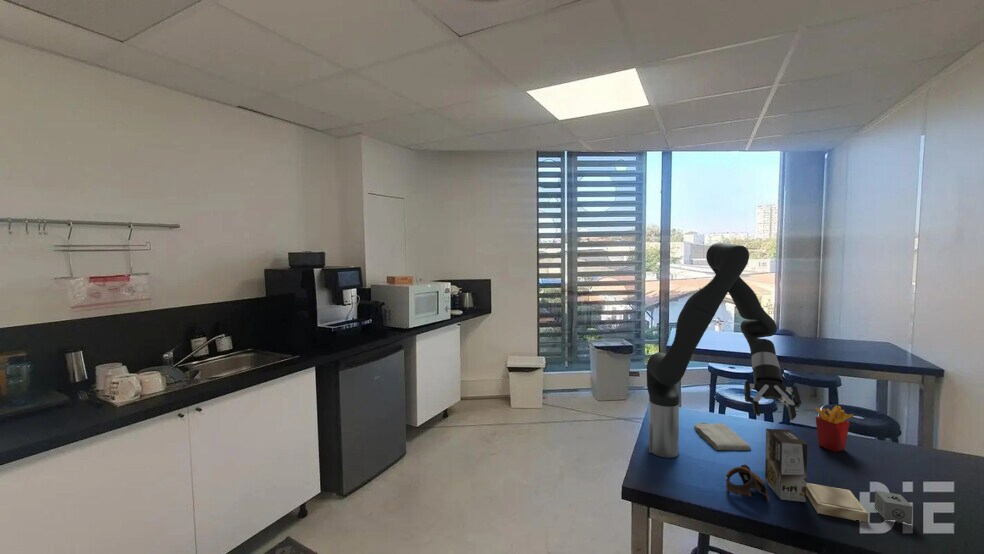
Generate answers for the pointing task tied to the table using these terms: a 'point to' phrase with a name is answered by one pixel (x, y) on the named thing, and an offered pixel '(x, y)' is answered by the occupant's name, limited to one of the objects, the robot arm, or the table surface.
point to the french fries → (832, 428)
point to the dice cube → (893, 507)
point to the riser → (835, 502)
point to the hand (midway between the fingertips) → (775, 416)
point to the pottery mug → (746, 482)
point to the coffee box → (786, 464)
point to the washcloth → (721, 436)
